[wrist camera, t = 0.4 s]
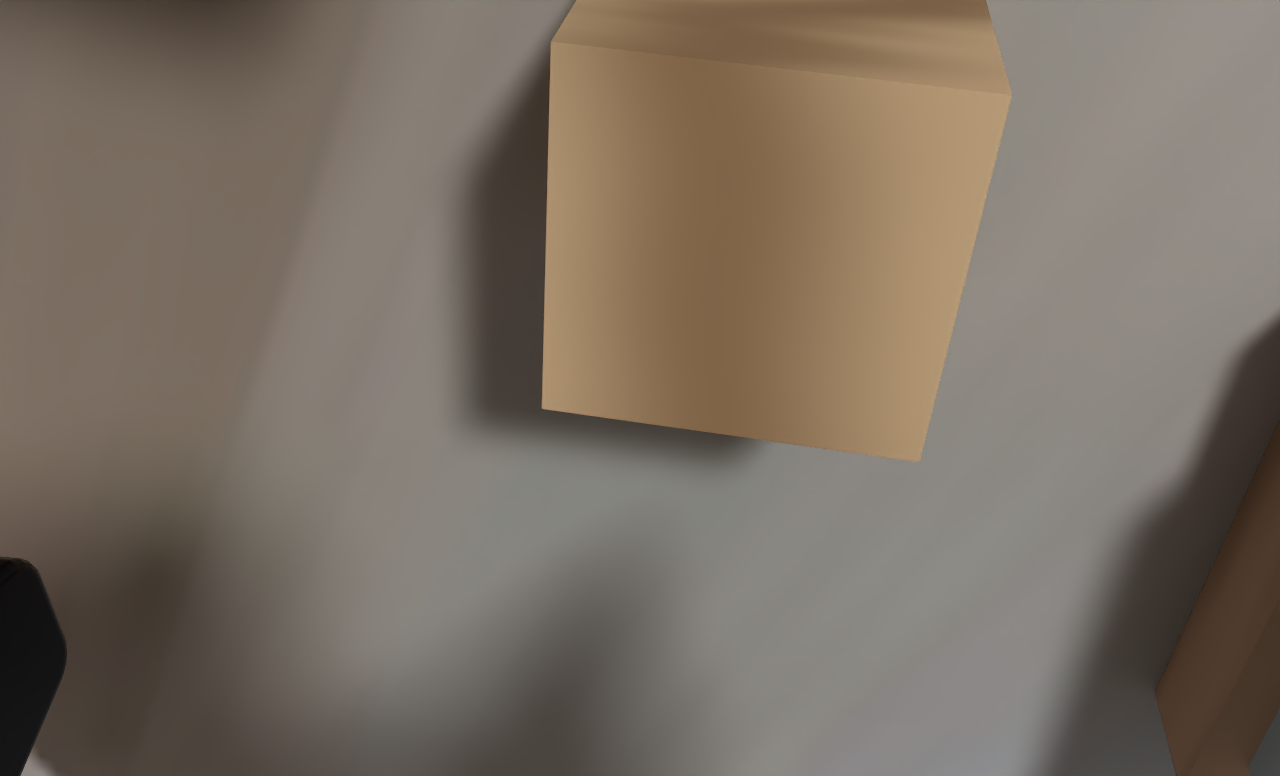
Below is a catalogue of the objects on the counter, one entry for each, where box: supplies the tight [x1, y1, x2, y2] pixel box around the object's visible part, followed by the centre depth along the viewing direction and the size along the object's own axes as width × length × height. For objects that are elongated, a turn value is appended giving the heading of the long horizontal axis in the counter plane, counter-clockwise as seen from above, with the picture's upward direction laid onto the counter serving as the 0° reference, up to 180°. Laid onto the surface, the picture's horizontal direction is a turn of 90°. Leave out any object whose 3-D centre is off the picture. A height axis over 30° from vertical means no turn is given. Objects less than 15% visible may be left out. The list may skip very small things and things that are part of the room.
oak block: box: [542, 0, 1012, 462], centre depth 17 cm, size 5×5×5 cm
